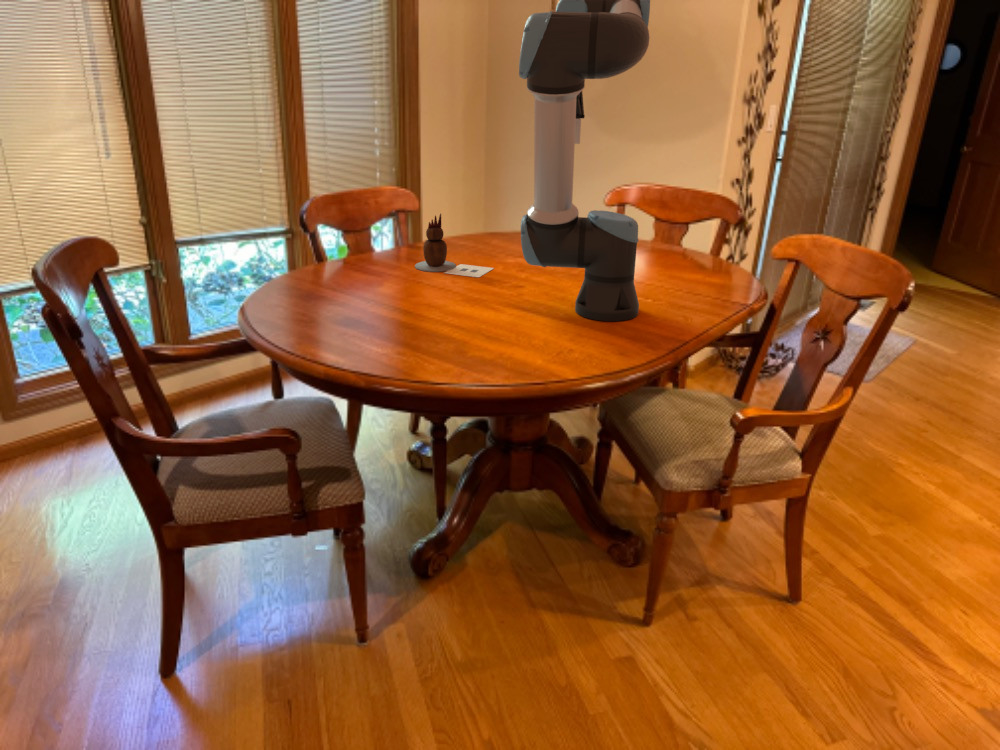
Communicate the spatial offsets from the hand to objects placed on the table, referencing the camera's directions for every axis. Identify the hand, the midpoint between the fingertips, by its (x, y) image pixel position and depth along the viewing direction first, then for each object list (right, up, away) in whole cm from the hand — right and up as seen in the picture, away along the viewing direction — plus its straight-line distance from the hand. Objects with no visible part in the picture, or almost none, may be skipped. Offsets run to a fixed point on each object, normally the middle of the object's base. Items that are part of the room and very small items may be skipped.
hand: (567, 145), depth 186 cm
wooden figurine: (-37, -30, +16) cm, 51 cm away
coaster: (-37, -30, +16) cm, 51 cm away
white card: (-27, -32, +12) cm, 44 cm away
